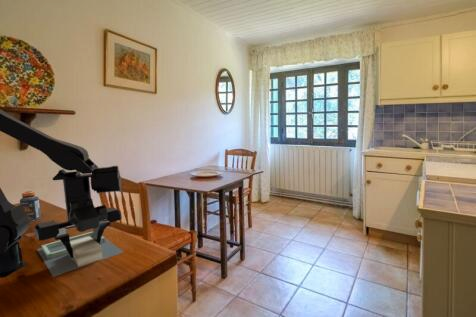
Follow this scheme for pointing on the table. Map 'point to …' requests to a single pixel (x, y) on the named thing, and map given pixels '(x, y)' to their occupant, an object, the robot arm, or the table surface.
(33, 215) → the pill bottle
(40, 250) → the mat
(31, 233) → the key
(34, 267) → the table surface
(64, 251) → the tray frame
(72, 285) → the table surface
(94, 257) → the card box
